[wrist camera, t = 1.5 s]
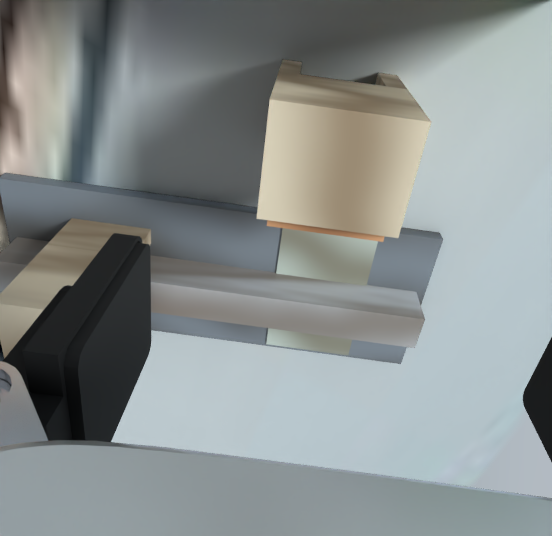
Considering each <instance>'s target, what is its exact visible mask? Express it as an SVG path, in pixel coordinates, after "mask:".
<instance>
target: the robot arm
mask: <svg viewBox="0 0 552 536" xmlns="http://www.w3.org/2000/svg"><path fill="white" fill-rule="evenodd" d="M150 346H151V257H150V245H149V244H144V243H142V238H141V237H140V236H133V235H126V234H119V233H114V234H112V236H111V237H110V238H109V239H108V241H107V242H106V243H105V245H104V246H103V247H102V248H101V250H100V251H99V252H98V254H97V255H96V256H95V257H94V259H93V260H92V261H91V263H90V264H89V265H88V266H87V268H86V269H85V270H84V272H83V273H82V274H81V275H80V277H79V278H78V279H77V281H76V282H75V283H74V284H73V286H70V285H67V286H64V287H63V288H61V289H60V290H59V292H58V293H57V294H56V295H55V297H54V298H53V299H52V300H51V302H50V303H49V304H48V305H47V306H46V308H45V309H44V310H43V311H42V313H41V314H40V315H39V316H38V318H37V319H36V320H35V321H34V323H33V324H32V325H31V326H30V328H29V329H28V330H27V331H26V333H25V334H24V335H23V336H22V337H21V339H20V340H19V341H18V342H17V344H16V345H15V346H14V347H13V349H12V350H11V351H10V352H9V354H8V355H7V356H6V357H5V359H4V360H3V361H2V362H1V361H0V536H552V498H547V497H539V496H532V495H525V494H518V493H510V492H504V491H496V490H489V489H482V488H474V487H467V486H459V485H452V484H445V483H437V482H430V481H422V480H415V479H407V478H400V477H392V476H385V475H377V474H370V473H362V472H355V471H347V470H340V469H332V468H324V467H316V466H308V465H301V464H293V463H285V462H277V461H270V460H262V459H254V458H246V457H239V456H231V455H223V454H215V453H207V452H199V451H191V450H183V449H175V448H167V447H157V446H146V445H135V444H124V443H114V442H111V440H112V438H113V436H114V433H115V431H116V429H117V426H118V424H119V422H120V419H121V417H122V415H123V412H124V410H125V408H126V406H127V403H128V401H129V399H130V396H131V394H132V392H133V389H134V387H135V385H136V383H137V380H138V378H139V376H140V373H141V371H142V369H143V366H144V364H145V362H146V359H147V357H148V355H149V351H150ZM523 403H524V407H525V409H526V411H527V413H528V415H529V417H530V419H531V421H532V423H533V425H534V427H535V429H536V431H537V433H538V435H539V437H540V439H541V441H542V443H543V445H544V447H545V450H546V451H547V454H548V456H549V458H550V459H551V462H552V338H551V340H550V342H549V344H548V346H547V348H546V349H545V351H544V353H543V355H542V357H541V359H540V361H539V363H538V365H537V367H536V369H535V371H534V373H533V375H532V377H531V379H530V381H529V382H528V384H527V386H526V388H525V391H524V394H523Z"/></svg>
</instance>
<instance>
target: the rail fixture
mask: <svg viewBox="0 0 552 536" xmlns="http://www.w3.org/2000/svg"><path fill="white" fill-rule="evenodd" d="M0 194H1V199H2V204H3V210H4V215H5V220H6V226H7V231H8V236H9V242H10V244H9V245H8V246H7V247H6V248H5V249H4V250H3V251H1V252H0V292H1V293H0V341H1V345H2V350H3V354H4V359H5V357H6V356H7V355H8V354H9V352H10V351H11V350H12V349H13V347H14V346H15V345H16V344H17V342H18V341H19V340H20V339H21V337H22V336H23V335H24V334H25V333H26V331H27V330H28V329H29V328H30V326H31V325H32V324H33V323H34V321H35V320H36V319H37V318H38V316H39V315H40V314H41V313H42V311H43V310H44V309H45V308H46V306H47V305H48V304H49V303H50V302H51V300H52V299H53V298H54V297H55V295H56V294H57V293H58V292H59V290H60V289H61V288H63V287H64V286H67V285H70V286H73V284H74V283H75V282H76V281H77V279H78V278H79V277H80V275H81V274H82V273H83V272H84V270H85V269H86V268H87V266H88V265H89V264H90V263H91V261H92V260H93V259H94V257H95V256H96V255H97V254H98V252H99V251H100V250H101V248H102V247H103V246H104V245H105V243H106V242H107V241H108V239H109V238H110V237H111V236H112V234H114V233H119V234H126V235H133V236H140V237H141V238H142V243H144V244H149V245H150V257H151V330H155V331H162V332H170V333H177V334H184V335H192V336H199V337H207V338H214V339H221V340H229V341H236V342H243V343H251V344H258V345H265V346H273V347H280V348H287V349H295V350H302V351H309V352H317V353H324V354H331V355H339V356H346V357H353V358H361V359H368V360H376V361H383V362H390V363H398V364H401V362H402V359H403V356H404V353H405V350H406V347H410V348H415V346H416V343H417V341H418V338H419V335H420V332H421V329H422V326H423V324H424V321H425V318H424V315H423V312H422V308H421V303H422V300H423V297H424V294H425V291H426V288H427V285H428V283H429V280H430V277H431V274H432V271H433V268H434V265H435V262H436V259H437V256H438V253H439V250H440V247H441V244H442V241H443V238H442V236H441V234H440V233H438V232H430V231H423V230H416V229H409V228H401V230H400V234H399V237H398V238H393V237H386V236H385V237H384V241H383V242H380V241H373V240H365V239H358V238H351V237H344V236H336V235H329V234H322V233H315V232H307V231H300V230H293V229H286V228H278V227H271V226H267V220H263V219H256V218H257V209H258V208H256V207H249V206H242V205H235V204H227V203H220V202H213V201H206V200H199V199H191V198H184V197H177V196H170V195H162V194H155V193H148V192H141V191H133V190H126V189H119V188H112V187H104V186H97V185H90V184H83V183H75V182H68V181H61V180H54V179H46V178H39V177H32V176H25V175H17V174H10V173H5V174H3V175H2V176H0Z"/></svg>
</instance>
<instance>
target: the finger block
mask: <svg viewBox="0 0 552 536" xmlns="http://www.w3.org/2000/svg"><path fill="white" fill-rule="evenodd" d="M301 65H302V62H298V61H291V60H284V59H283V60H282V63H281V66H280V69H279V72H278V75H277V78H276V81H275V84H274V88H273V91H272V94H271V97H270V100H269V109H268V118H267V128H266V137H265V146H264V155H263V164H262V173H261V182H260V191H259V200H258V209H257V218H256V219H263V220H267V226H271V227H278V228H286V229H293V230H300V231H307V232H315V233H322V234H329V235H336V236H344V237H351V238H358V239H365V240H373V241H380V242H383V241H384V237H385V236H386V237H393V238H398V237H399V234H400V230H401V227H402V223H403V220H404V216H405V213H406V209H407V206H408V202H409V199H410V195H411V192H412V188H413V185H414V181H415V178H416V174H417V171H418V167H419V164H420V160H421V157H422V153H423V150H424V146H425V143H426V139H427V136H428V132H429V129H430V125H431V121H430V119H429V118H428V117H427V115H426V114H425V113H424V111H423V110H422V109H421V107H420V106H419V104H418V103H417V102H416V100H415V99H414V98H413V96H412V95H411V94H410V92H409V91H408V89H407V88H406V87H405V85H404V84H403V83H402V81H401V80H400V79H399V77H398V76H397V75H391V74H384V73H378V75H377V80H376V85H373V84H366V83H359V82H352V81H345V80H338V79H331V78H323V77H316V76H309V75H302V74H300V72H301Z"/></svg>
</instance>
